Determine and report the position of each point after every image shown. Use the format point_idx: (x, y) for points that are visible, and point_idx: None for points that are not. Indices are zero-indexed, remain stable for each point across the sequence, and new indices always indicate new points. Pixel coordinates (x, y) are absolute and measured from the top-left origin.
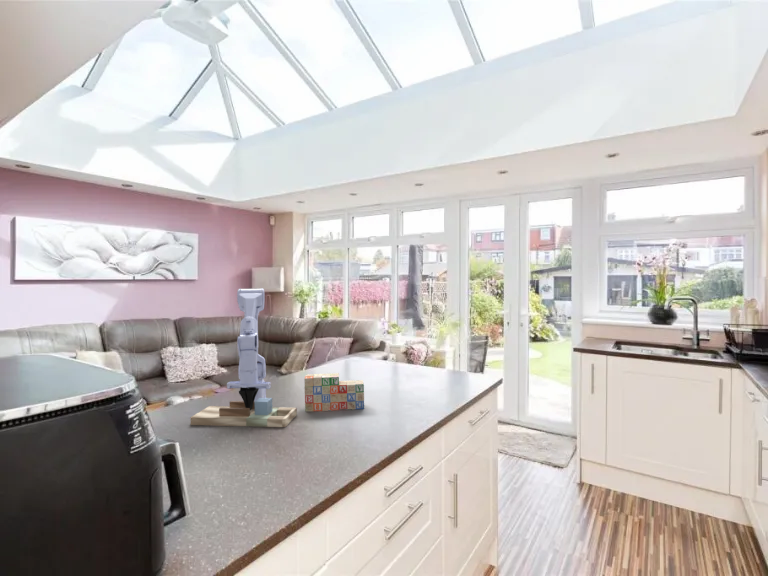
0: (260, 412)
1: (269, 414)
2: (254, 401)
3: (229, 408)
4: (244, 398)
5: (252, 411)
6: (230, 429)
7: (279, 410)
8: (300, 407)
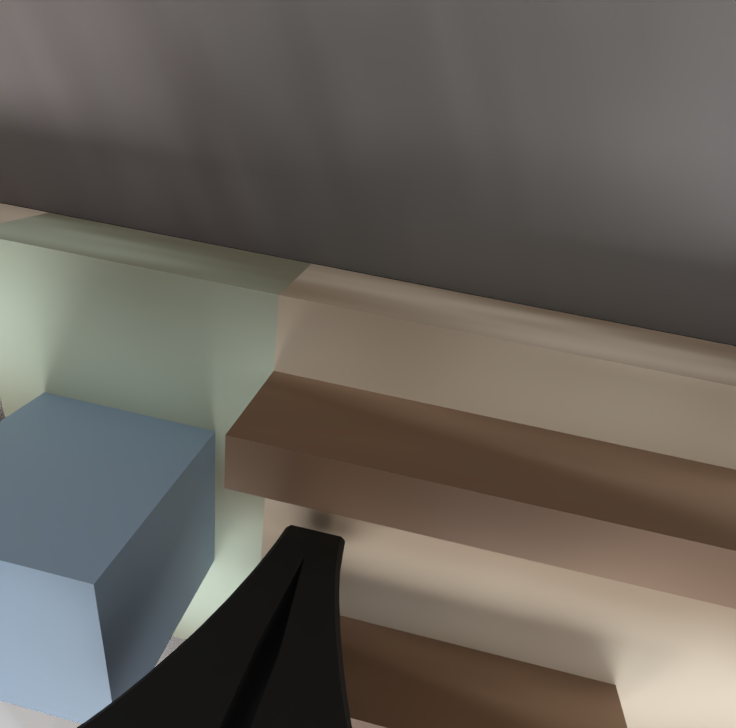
0: (114, 431)
1: None
2: None
3: (607, 540)
4: (299, 723)
5: None
6: (502, 161)
7: None
8: None
